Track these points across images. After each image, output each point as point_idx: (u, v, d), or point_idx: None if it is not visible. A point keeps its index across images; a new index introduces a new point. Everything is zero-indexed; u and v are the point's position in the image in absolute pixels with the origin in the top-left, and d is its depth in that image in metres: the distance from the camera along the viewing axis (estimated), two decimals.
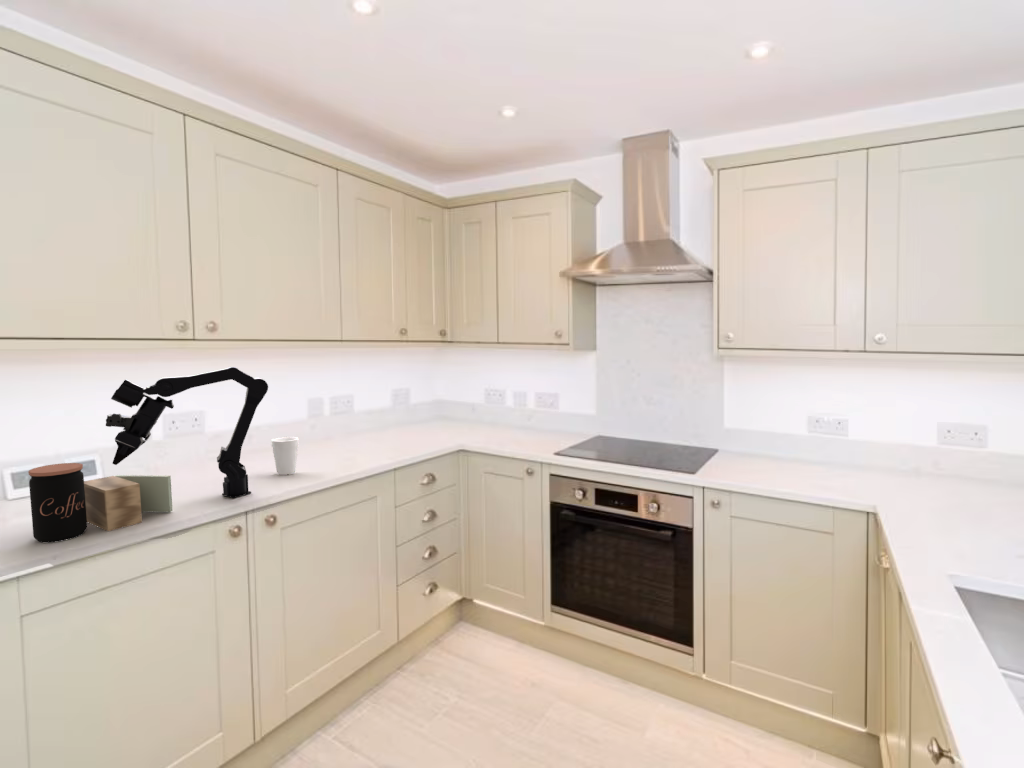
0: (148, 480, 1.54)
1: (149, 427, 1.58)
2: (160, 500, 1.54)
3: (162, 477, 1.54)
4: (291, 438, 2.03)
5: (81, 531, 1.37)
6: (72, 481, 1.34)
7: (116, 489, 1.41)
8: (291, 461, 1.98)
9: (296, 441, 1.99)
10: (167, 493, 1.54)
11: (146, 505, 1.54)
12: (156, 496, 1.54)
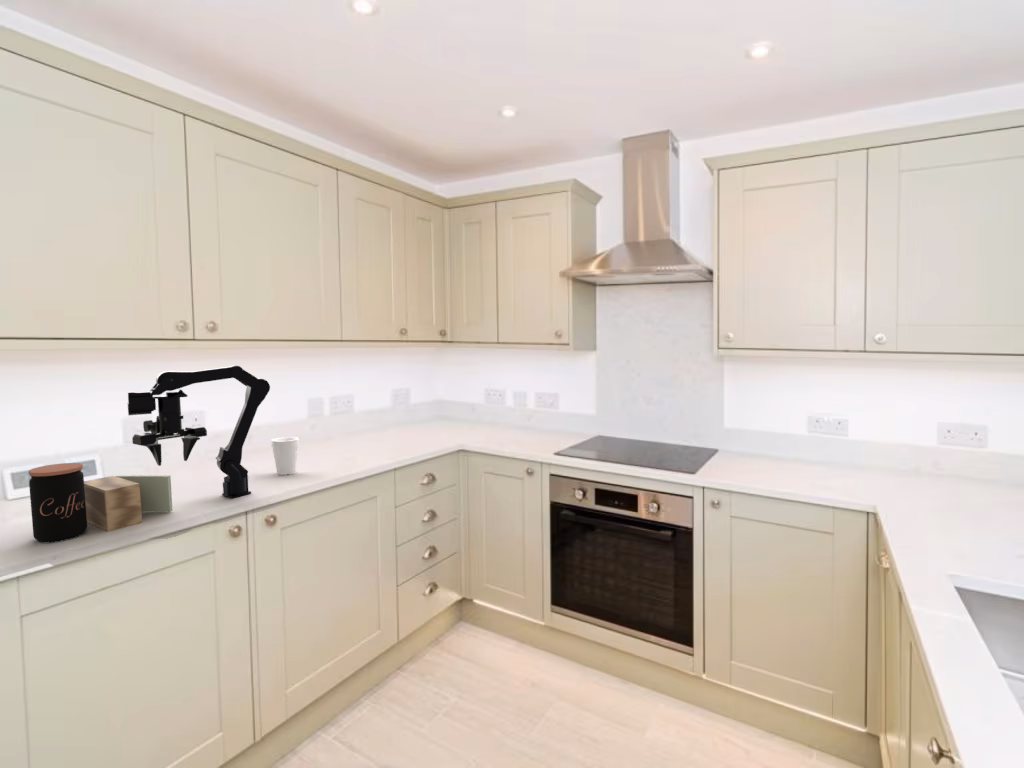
0: (148, 480, 1.54)
1: (168, 423, 1.58)
2: (160, 500, 1.54)
3: (162, 477, 1.54)
4: (291, 438, 2.03)
5: (81, 531, 1.37)
6: (72, 481, 1.34)
7: (116, 489, 1.41)
8: (291, 461, 1.98)
9: (296, 441, 1.99)
10: (167, 493, 1.54)
11: (146, 505, 1.54)
12: (156, 496, 1.54)
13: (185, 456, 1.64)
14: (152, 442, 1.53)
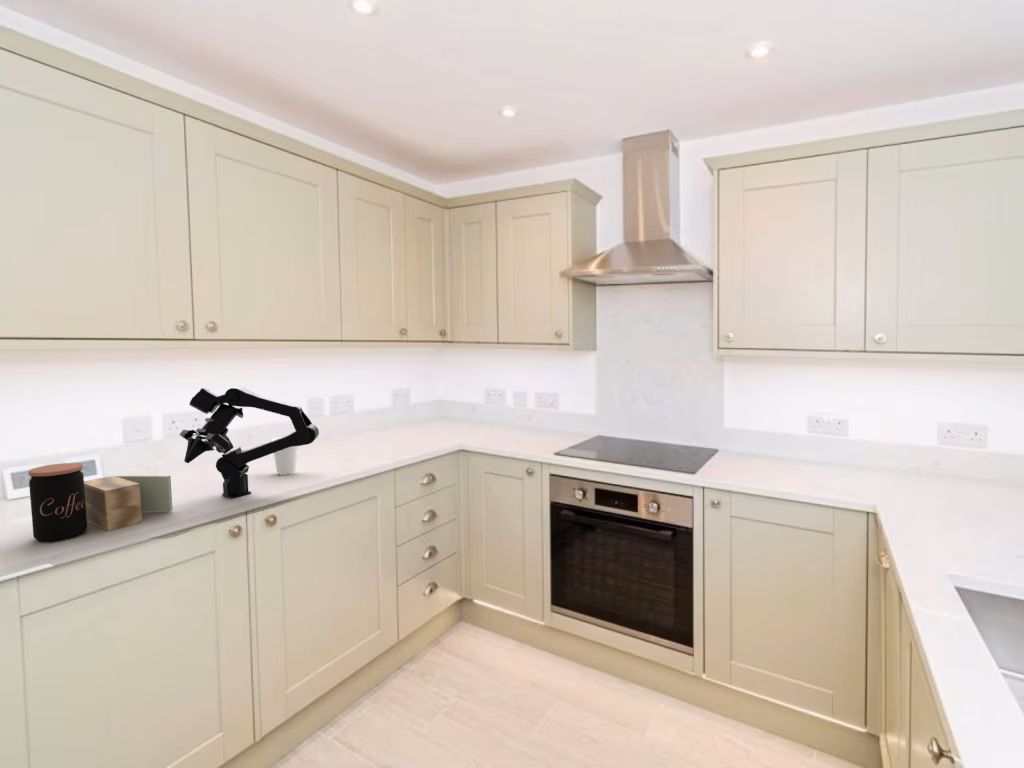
0: (148, 480, 1.54)
1: (205, 423, 1.66)
2: (160, 500, 1.54)
3: (162, 477, 1.54)
4: None
5: (81, 531, 1.37)
6: (72, 481, 1.34)
7: (116, 489, 1.41)
8: (291, 461, 1.98)
9: None
10: (167, 493, 1.54)
11: (146, 505, 1.54)
12: (156, 496, 1.54)
13: None
14: (184, 433, 1.66)
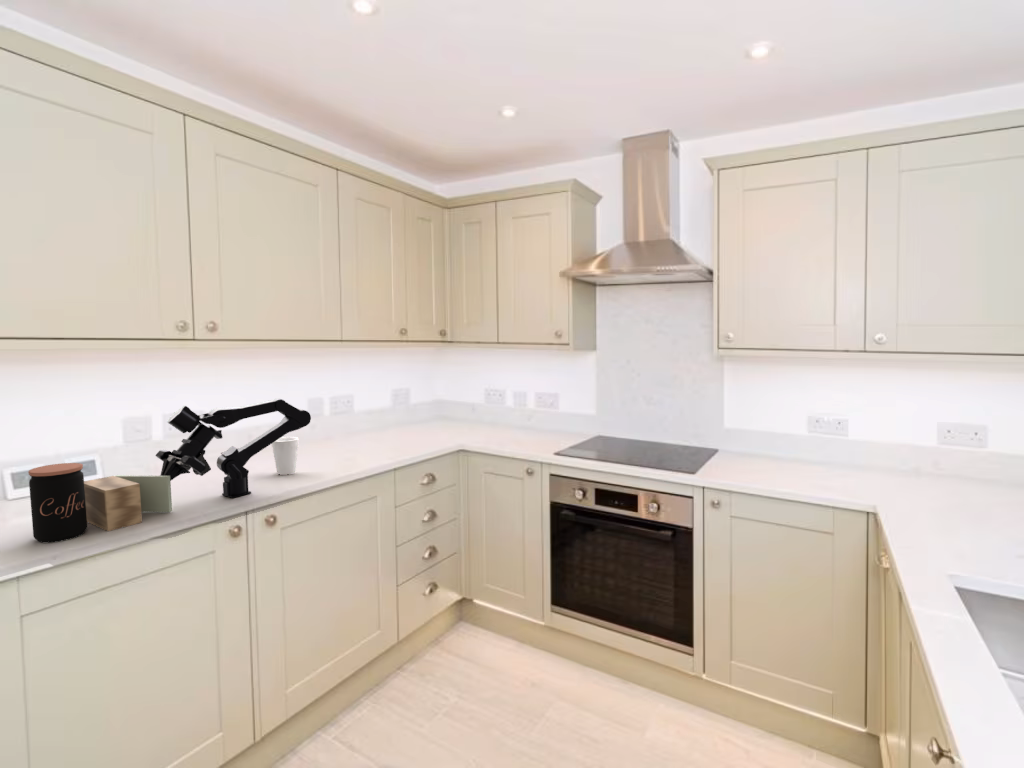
0: (148, 480, 1.54)
1: None
2: (159, 500, 1.54)
3: (162, 477, 1.53)
4: (291, 438, 2.03)
5: (81, 531, 1.37)
6: (72, 481, 1.34)
7: (116, 489, 1.41)
8: (291, 461, 1.98)
9: (296, 441, 1.99)
10: (167, 493, 1.54)
11: (146, 505, 1.54)
12: (156, 496, 1.54)
13: None
14: (160, 455, 1.61)
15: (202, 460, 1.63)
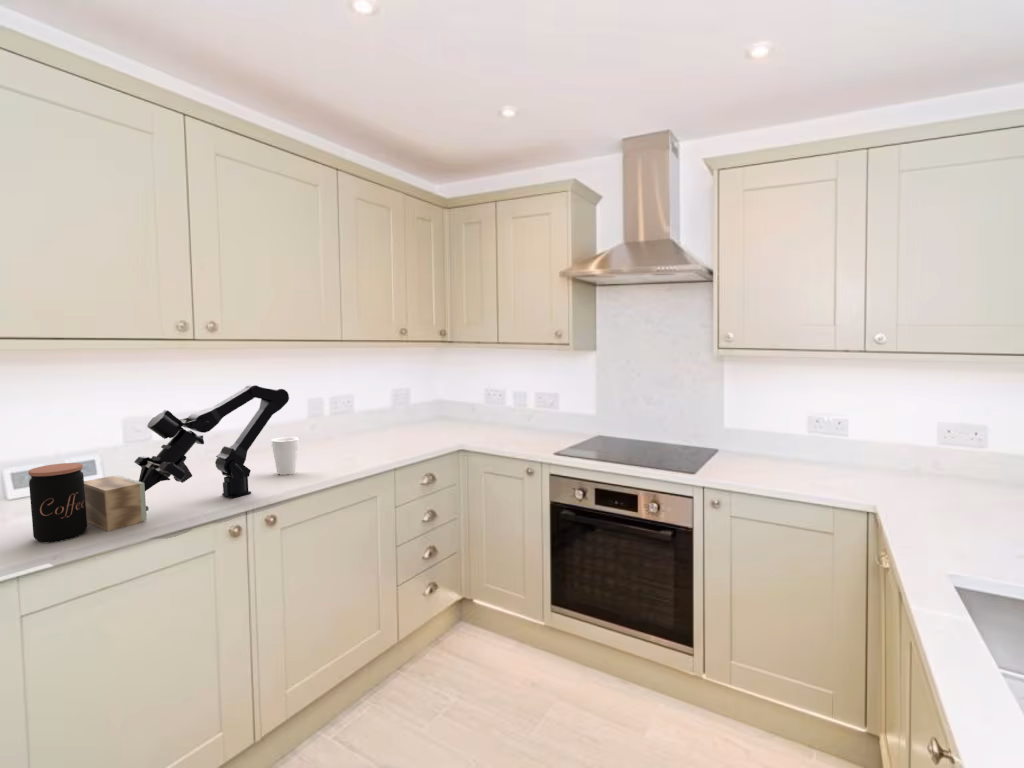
0: None
1: None
2: None
3: None
4: (291, 438, 2.03)
5: (81, 531, 1.37)
6: (72, 481, 1.34)
7: (116, 489, 1.41)
8: (291, 461, 1.98)
9: (296, 441, 1.99)
10: None
11: None
12: None
13: None
14: (138, 461, 1.55)
15: (183, 466, 1.57)
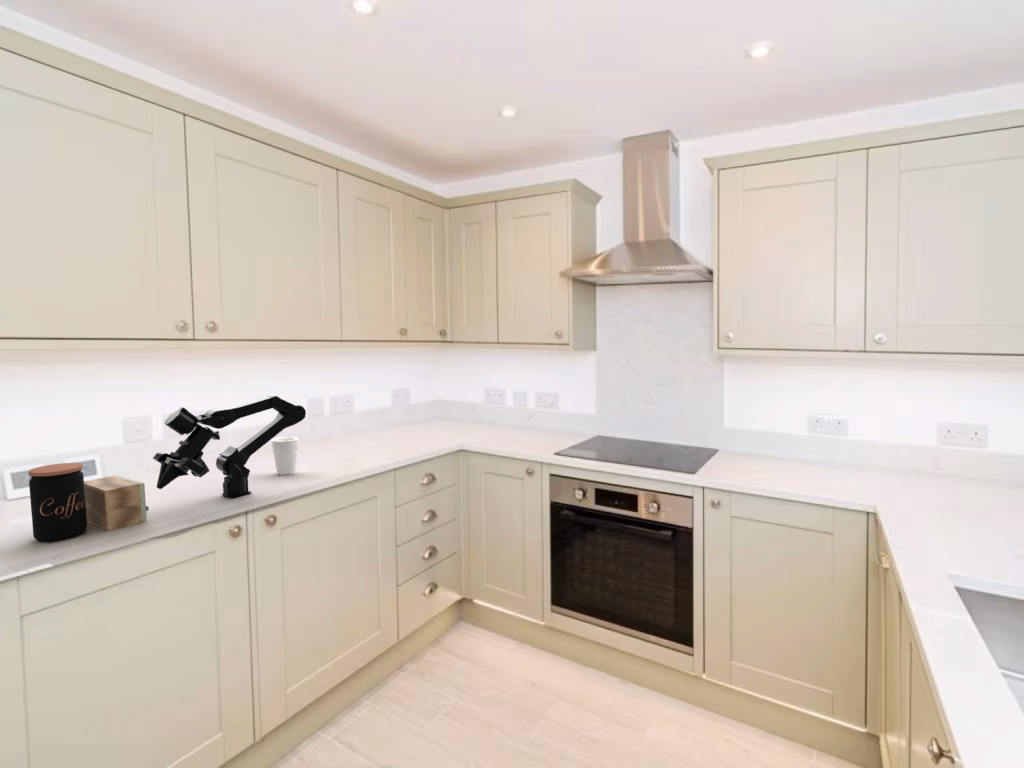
0: None
1: None
2: None
3: None
4: (291, 438, 2.03)
5: (81, 531, 1.37)
6: (72, 481, 1.34)
7: (116, 489, 1.41)
8: (291, 461, 1.98)
9: (296, 441, 1.99)
10: None
11: None
12: None
13: None
14: (157, 457, 1.60)
15: (200, 462, 1.62)
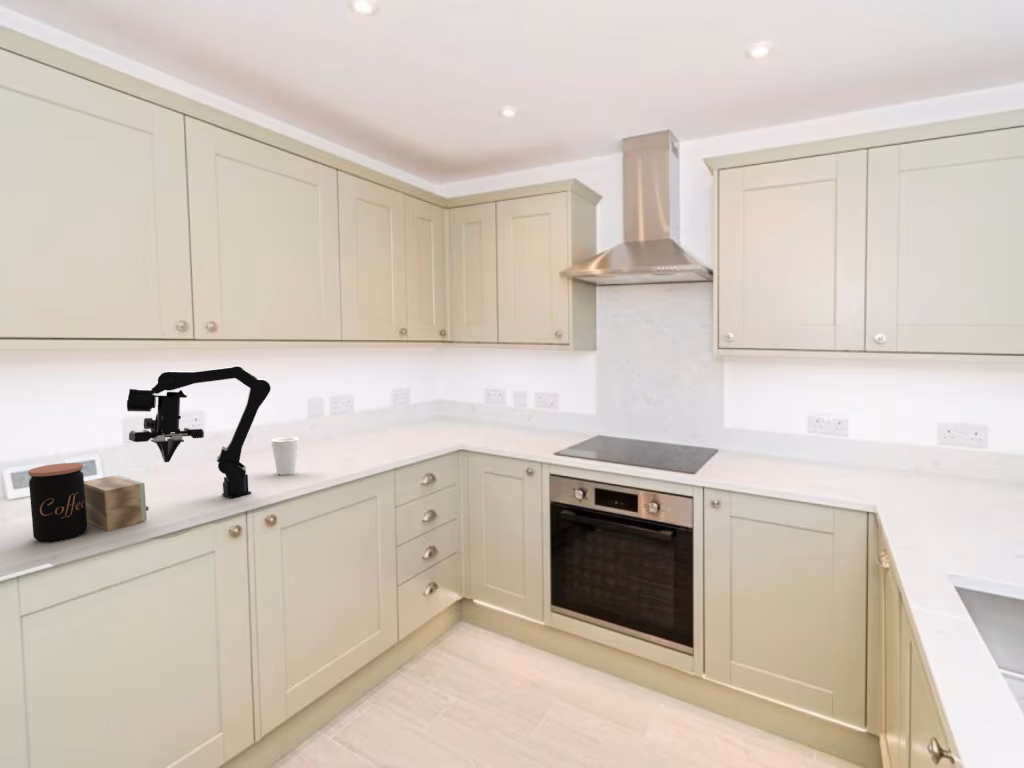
0: None
1: (164, 422, 1.59)
2: None
3: None
4: (291, 438, 2.03)
5: (81, 531, 1.37)
6: (72, 481, 1.34)
7: (116, 489, 1.41)
8: (291, 461, 1.98)
9: (296, 441, 1.99)
10: None
11: None
12: None
13: None
14: (146, 439, 1.55)
15: None
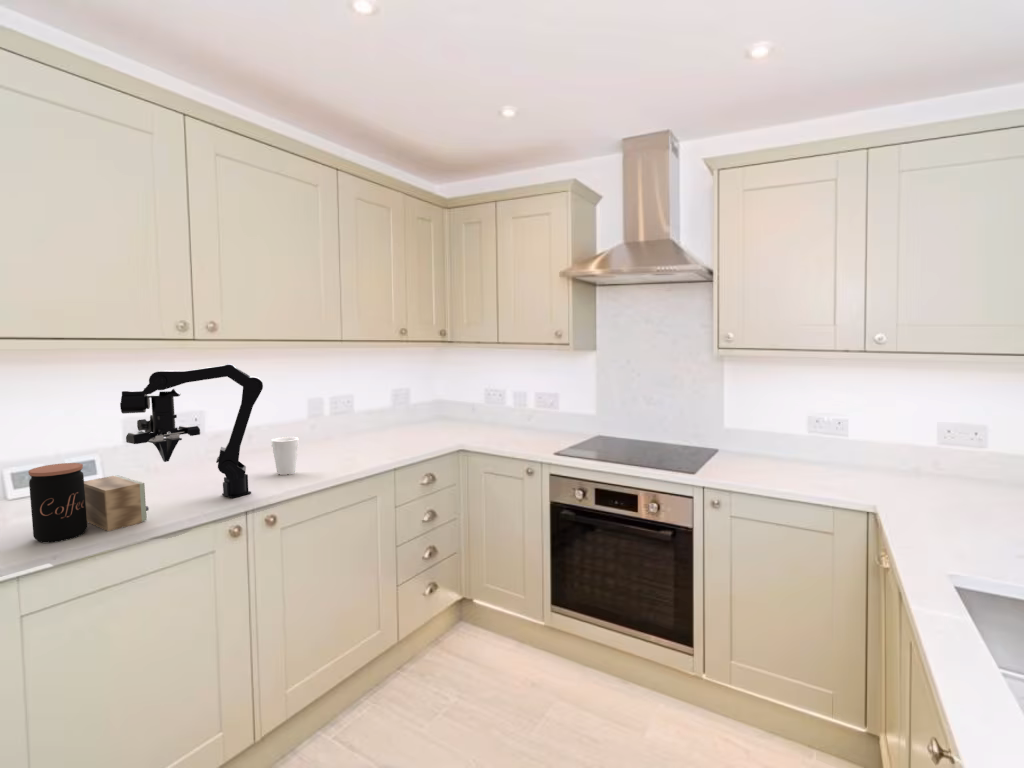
0: None
1: (161, 422, 1.60)
2: None
3: None
4: (291, 438, 2.03)
5: (81, 531, 1.37)
6: (72, 481, 1.34)
7: (116, 489, 1.41)
8: (291, 461, 1.98)
9: (296, 441, 1.99)
10: None
11: None
12: None
13: (167, 457, 1.63)
14: (145, 441, 1.55)
15: None
